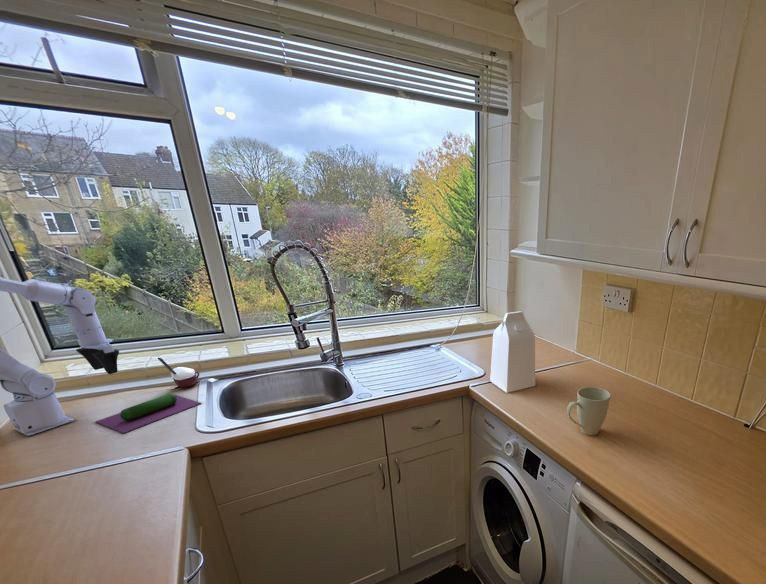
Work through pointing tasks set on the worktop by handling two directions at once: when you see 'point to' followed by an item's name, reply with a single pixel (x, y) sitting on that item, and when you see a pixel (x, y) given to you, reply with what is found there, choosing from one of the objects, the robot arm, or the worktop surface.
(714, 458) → the worktop surface
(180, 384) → the cocoa
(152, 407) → the cucumber
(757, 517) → the worktop surface
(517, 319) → the milk
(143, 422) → the towel
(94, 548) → the worktop surface
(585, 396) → the mug
